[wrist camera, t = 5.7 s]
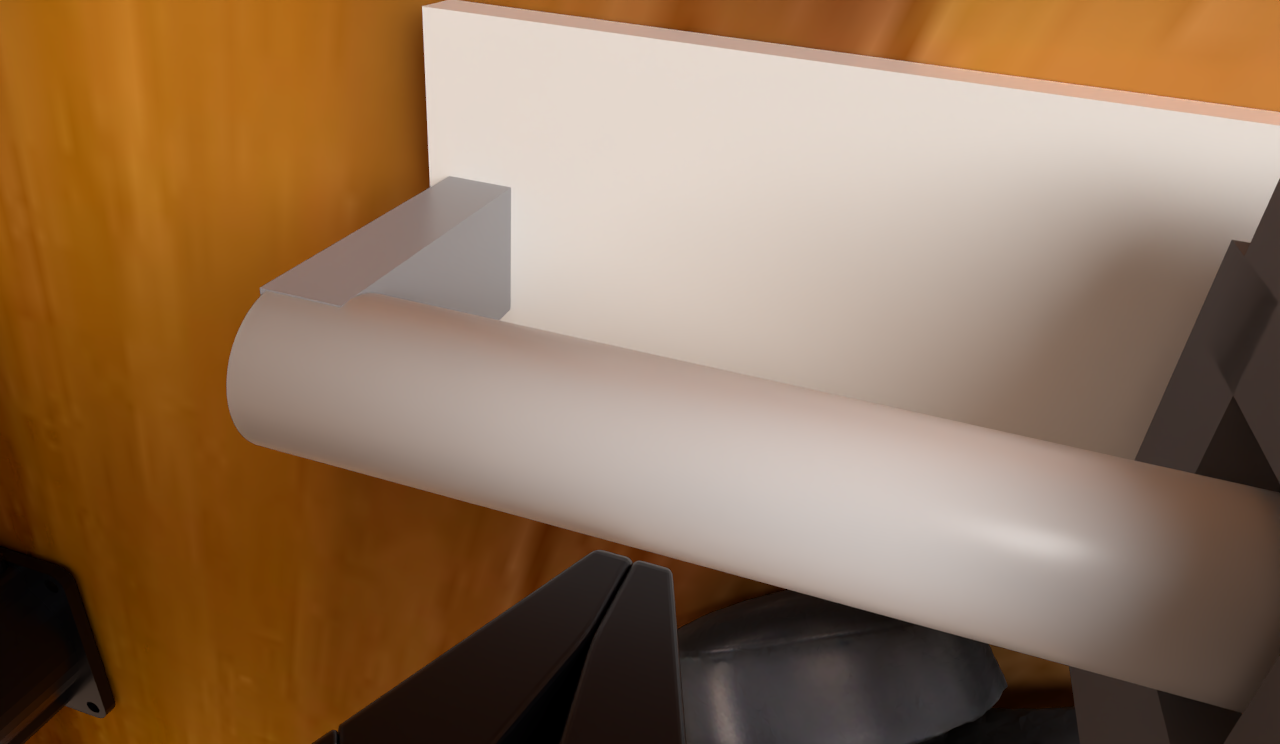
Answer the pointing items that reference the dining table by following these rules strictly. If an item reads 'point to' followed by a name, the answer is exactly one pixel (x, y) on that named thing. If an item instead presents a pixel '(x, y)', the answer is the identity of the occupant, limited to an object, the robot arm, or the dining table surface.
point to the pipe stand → (803, 332)
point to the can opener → (845, 680)
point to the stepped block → (1218, 448)
